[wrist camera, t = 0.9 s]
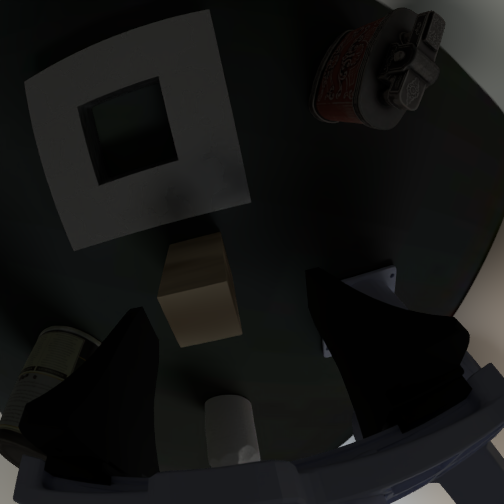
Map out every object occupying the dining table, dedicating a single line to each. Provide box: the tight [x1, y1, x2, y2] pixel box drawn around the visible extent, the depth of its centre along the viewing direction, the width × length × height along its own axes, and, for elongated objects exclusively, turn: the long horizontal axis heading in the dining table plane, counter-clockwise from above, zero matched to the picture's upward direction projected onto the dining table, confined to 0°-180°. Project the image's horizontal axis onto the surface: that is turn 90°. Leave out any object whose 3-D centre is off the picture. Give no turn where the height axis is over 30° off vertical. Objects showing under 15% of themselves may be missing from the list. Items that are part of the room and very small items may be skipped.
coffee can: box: [0, 326, 101, 468], centre depth 19 cm, size 10×10×14 cm
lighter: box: [309, 8, 445, 130], centre depth 13 cm, size 8×3×10 cm, turn 157°
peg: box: [157, 232, 242, 347], centre depth 20 cm, size 4×4×7 cm
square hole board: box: [24, 9, 251, 251], centre depth 16 cm, size 13×13×2 cm
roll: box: [205, 395, 260, 468], centre depth 26 cm, size 6×12×6 cm
